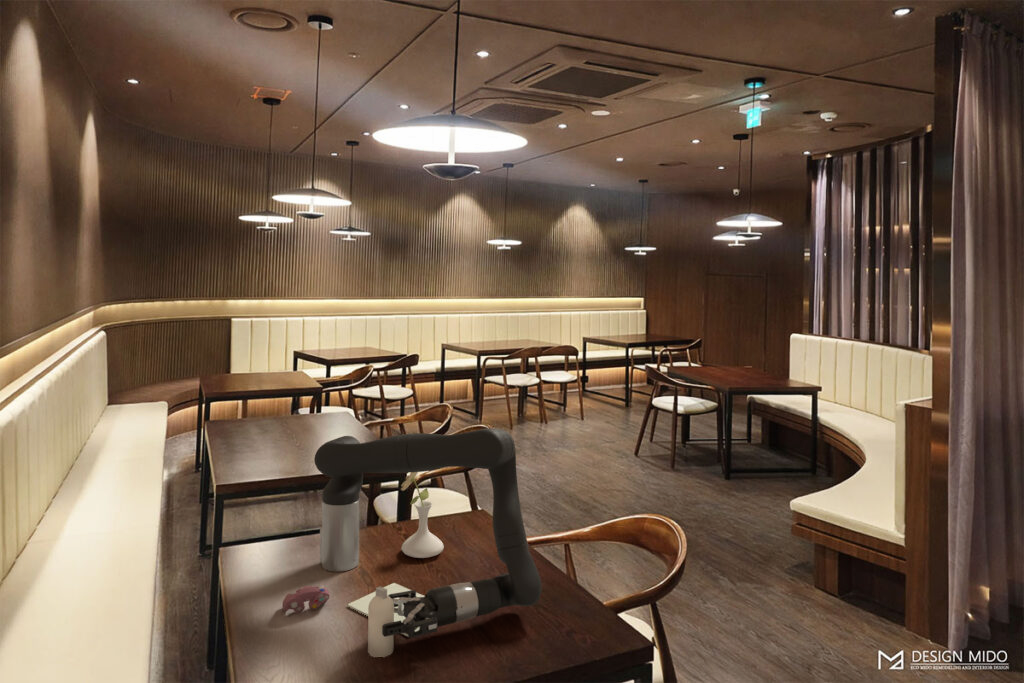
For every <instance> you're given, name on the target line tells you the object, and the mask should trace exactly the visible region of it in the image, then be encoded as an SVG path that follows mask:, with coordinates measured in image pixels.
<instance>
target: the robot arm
mask: <svg viewBox="0 0 1024 683" xmlns="http://www.w3.org/2000/svg"><path fill="white" fill-rule="evenodd" d="M516 452H517V451H516V444H515V441H514V438H513V436H512V435H511V434H510V433H509V432H508V431H506V430H505V429H501V428H488V427H487V428H481V429H477V430H470V431H467V432H461V433H454V434H438V433H425V432H423V433H421V432H419V433H404V434H403V433H402V434H396V435H390V436H388V437H382V438H378V439H375V440H371V441H368V442H367V441H366V442H362V443H361V442H360V441H359V440H358V439H357V437H354V436H351V435H343V436H340V437H337V438H334V439H332V440H329V441H326V442H325V443H323V444H322V445H321V446H319V448H318V449H317V450H316V452H315V454H314V460H313V461H314V465H315V467H316V469H317V470H318V471H319V472H320V473H321V474H322V475H324V476H326V477H329V478H330V479H329V481H328V483H327V484H326V485H325V487H324V488H323V489H322V492H321V493H322V494H321V495H322V496H321V498H322V499H321V500H322V501H321V503H322V504H321V508H322V511H321V513H322V516H321V521H322V522H321V523H322V526H321V527H320V528H319V563H320V564H321V567H322V568H323V569H324V570H326V571H329V572H337V573H338V572H345V571H349V570H353V569H354V568H356V567H357V566H358V565H360V564H359V563H360V562H359V561H360V493H361V490H362V488H363V484H364V483H363V482H364V481H363V480H364V474H365V473H366V474H367V473H369V474H370V473H374V474H376V473H377V474H388V473H389V474H394V473H396V474H399V473H400V474H402V473H405V474H407V473H411V472H418V473H422V472H429V471H430V472H431V471H435V470H439V469H443V468H451V467H456V468H458V467H459V468H472V469H480V470H481V469H483V470H487V471H488V472H489V476H490V480H491V484H492V492H493V493H492V496H493V499H492V500H493V501H492V528H493V530H492V531H493V534H494V535H493V536H494V541H495V546H496V553H497V556H498V559H499V560H500V561H501V562H502V563H503V564H505V565H506V568H507V573H503V574H500V575H496V576H494V577H490V578H484V579H479V580H474V581H469V582H459V583H453V584H447V585H444V586H438V587H434V588H430V589H428V590H427V592H426V594H425V595H424V596H425V597H416V593H417V590H415V589H413V590H412V589H410V590H411V591H406V592H400V593H394V594H389V595H388V596H389V597H390V598H391V599H392V600H393V603H394V607H398V608H394V613H398V615H399V616H404V617H405V619H404V620H403V622H401V620H400V621H396V622H392V623H387V624H384V625H383V626H382V634H383V636H384V637H386V636H391V635H398V634H401V633H403V634H405V635H406V634H408V638H409V639H415V638H420V637H422V636H425V635H430V634H433V633H436V632H437V631H438V628H440V627H443V626H444V627H445V626H447V625H452V624H457V623H460V622H465V621H468V620H470V619H473V618H477V617H480V616H484V615H485V616H486V615H489V614H492V613H494V612H497V610H499V609H502V608H506V607H511V606H512V607H513V606H521V607H530V606H531V607H532V606H534V605H535V604H537V602H538V601H539V600H540V598H541V594H542V580H541V577H540V576H541V575H540V572H539V570H538V568H537V565H536V564H535V561H534V558H533V557H532V554H531V552H530V550H529V545H528V539H527V534H526V530H525V525H524V521H523V515H522V510H521V503H520V494H519V484H518V475H517V457H516V456H517V454H516ZM394 598H399V599H394ZM403 605H404V609H403ZM418 627H420V629H419V631H416V632H415V630H416V629H417V628H418ZM403 634H402V635H403ZM405 635H404V636H405Z"/></svg>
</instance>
